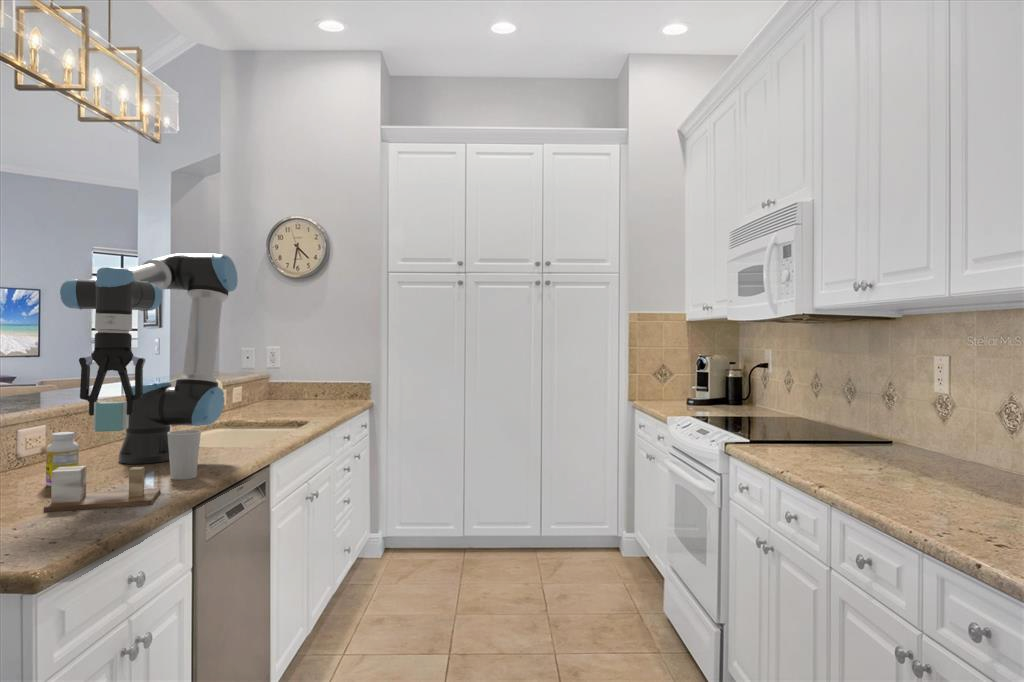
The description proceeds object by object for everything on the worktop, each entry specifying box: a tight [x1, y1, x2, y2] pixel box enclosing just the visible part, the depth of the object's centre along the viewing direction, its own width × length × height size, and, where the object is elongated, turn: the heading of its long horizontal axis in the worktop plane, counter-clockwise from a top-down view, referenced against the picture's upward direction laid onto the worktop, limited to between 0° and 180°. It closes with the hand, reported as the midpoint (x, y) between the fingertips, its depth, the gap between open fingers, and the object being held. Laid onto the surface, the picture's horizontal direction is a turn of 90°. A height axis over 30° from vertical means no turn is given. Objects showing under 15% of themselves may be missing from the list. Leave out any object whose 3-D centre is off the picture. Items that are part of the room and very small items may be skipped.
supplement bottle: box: [45, 431, 80, 487], centre depth 157 cm, size 7×7×13 cm
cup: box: [167, 429, 202, 481], centre depth 168 cm, size 8×8×12 cm
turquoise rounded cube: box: [94, 401, 125, 433], centre depth 151 cm, size 5×5×7 cm
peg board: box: [43, 465, 161, 513], centre depth 142 cm, size 12×20×8 cm, turn 111°
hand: (111, 428), depth 151 cm, fingers closed on turquoise rounded cube, 5 cm apart
